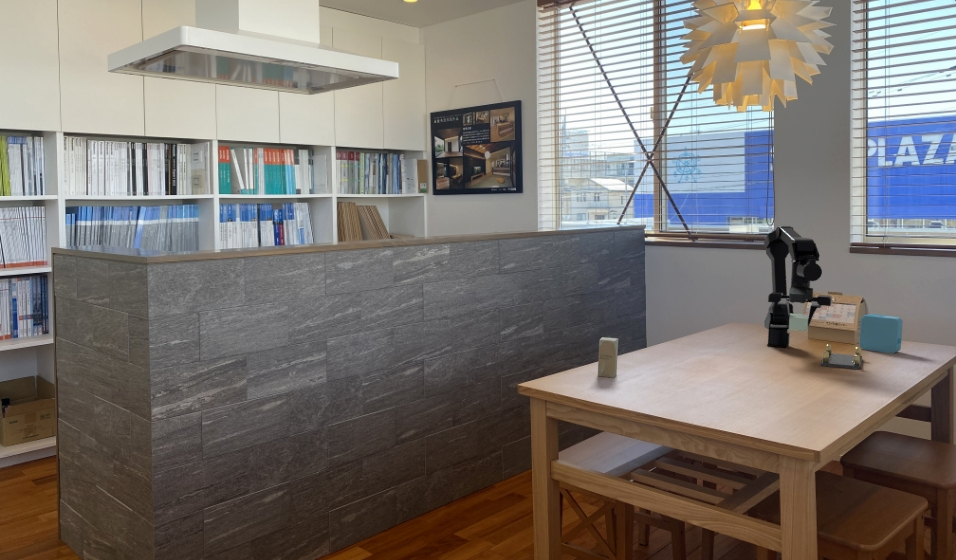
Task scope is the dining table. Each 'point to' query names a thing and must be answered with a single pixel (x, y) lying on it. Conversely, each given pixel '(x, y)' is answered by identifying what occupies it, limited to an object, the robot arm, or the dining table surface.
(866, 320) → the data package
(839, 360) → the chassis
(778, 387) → the dining table surface
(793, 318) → the pale green block
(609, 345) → the box
